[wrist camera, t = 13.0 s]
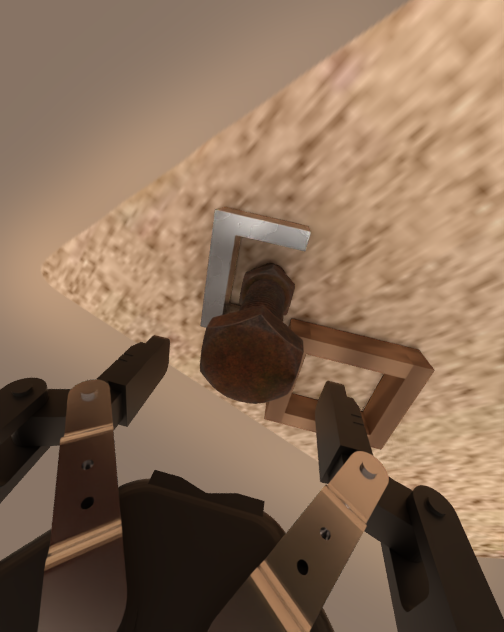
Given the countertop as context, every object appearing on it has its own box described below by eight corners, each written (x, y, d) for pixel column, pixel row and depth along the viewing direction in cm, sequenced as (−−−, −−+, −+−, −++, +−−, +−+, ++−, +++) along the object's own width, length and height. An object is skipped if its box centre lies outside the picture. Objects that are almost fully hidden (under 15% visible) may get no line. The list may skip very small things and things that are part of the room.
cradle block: (308, 226, 24) (311, 231, 21) (279, 328, 29) (277, 345, 26) (225, 206, 24) (215, 209, 21) (210, 311, 29) (200, 326, 26)
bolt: (308, 279, 26) (324, 374, 13) (274, 311, 28) (256, 421, 15) (266, 239, 25) (236, 297, 12) (233, 275, 27) (176, 359, 14)
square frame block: (418, 349, 28) (434, 370, 25) (372, 425, 33) (381, 449, 30) (291, 318, 28) (291, 334, 25) (266, 397, 34) (264, 418, 31)
